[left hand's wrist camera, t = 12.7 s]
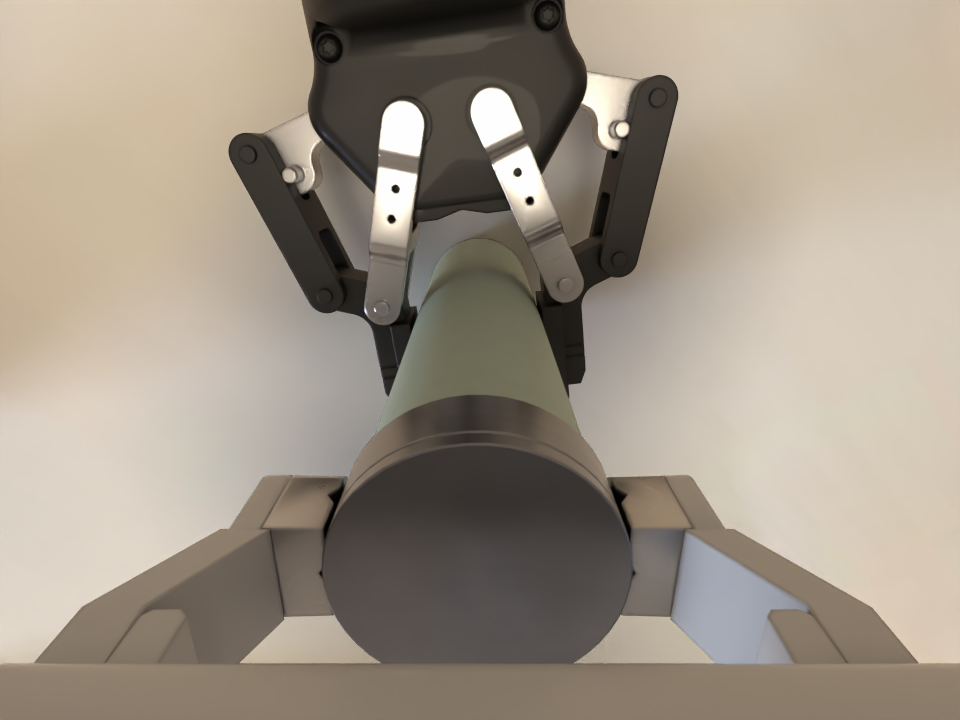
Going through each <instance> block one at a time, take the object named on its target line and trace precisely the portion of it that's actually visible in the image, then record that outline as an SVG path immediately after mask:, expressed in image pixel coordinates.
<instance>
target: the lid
mask: <svg viewBox="0 0 960 720" xmlns="http://www.w3.org/2000/svg"><path fill="white" fill-rule="evenodd" d="M632 573H633V558H632V549H631V545H630V540H629V536H628V533H627V531H626V528H625V525H624V523H623V520H622V517H621V515H620V512H619V509H618V507H617V504H616V501H615V499H614V496H613V493H612V491H611V488H610V485H609V483H608V480H607V478H606V475H605V472H604V470H603V467H602V465H601V463H600V461H599V459H598V458H597V456H596V454H595V453H594V451H593V449H592V448H591V447H590V446H589V444H588V443H587V442H586V441H585V440H584V438H583V437H582V436H581V435H580V434H579V433H577V432H576V431H575V430H574V429H573V428H572V427H571V426H570V425H568V424H567V423H566V422H564V421H563V420H561V419H560V418H558V417H557V416H555V415H553V414H551V413H550V412H548V411H546V410H544V409H542V408H540V407H537V406H534V405H532V404H529V403H526V402H524V401H520V400H516V399H512V398H508V397H502V396H493V395H462V396H454V397H447V398H443V399H439V400H435V401H431V402H429V403H426V404H423V405H421V406H418V407H416V408H413V409H411V410H409V411H407V412H406V413H404V414H402V415H400V416H398V417H397V418H395V419H394V420H392V421H391V422H390V423H388V424H387V425H386V426H384V427H383V428H382V429H381V430H380V431H379V432H378V433H377V434H376V435H375V436H374V437H372V438H371V440H370V441H369V442H368V444H367V445H366V446H365V447H364V449H363V450H362V451H361V453H360V455H359V456H358V458H357V460H356V462H355V463H354V465H353V468H352V471H351V473H350V476H349V478H348V481H347V483H346V486H345V488H344V491H343V494H342V496H341V499H340V501H339V504H338V506H337V509H336V512H335V514H334V517H333V519H332V522H331V524H330V527H329V530H328V532H327V535H326V538H325V543H324V548H323V553H322V576H323V583H324V588H325V592H326V595H327V598H328V602H329V604H330V606H331V608H332V610H333V612H334V614H335V617H336V618H337V620H338V621H339V623H340V624H341V626H342V627H343V629H344V630H345V631H346V633H347V634H348V635H349V636H350V637H351V638H352V639H353V640H354V642H355V643H356V644H357V645H359V646H360V647H361V648H362V649H363V650H364V651H365V652H367V653H368V654H369V655H370V656H372V657H373V658H375V659H376V660H378V661H379V662H381V663H382V664H573V663H574V662H576V661H577V660H579V659H580V658H582V657H583V656H585V655H586V654H587V653H588V652H590V651H591V650H592V649H593V648H594V647H595V646H596V645H597V644H599V643H600V642H601V640H602V639H603V638H604V637H605V636H606V635H607V634H608V632H609V631H610V630H611V629H612V627H613V626H614V624H615V623H616V621H617V619H618V618H619V616H620V614H621V612H622V610H623V608H624V606H625V604H626V601H627V598H628V594H629V591H630V587H631V582H632Z"/></svg>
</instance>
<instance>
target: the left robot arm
mask: <svg viewBox="0 0 960 720" xmlns="http://www.w3.org/2000/svg"><path fill="white" fill-rule="evenodd" d="M607 480H608V483H609V485H610V488H611V491H612V493H613V496H614V499H615V501H616V504H617V507H618V509H619V512H620V515H621V517H622V520H623V523H624V525H625V528H626V531H627V533H628V536H629V540H630V545H631V549H632V558H633V573H632V582H631V587H630V591H629V594H628V598H627V601H626V604H625V606H624V608H623V610H622V612H621V615H628V616H664V617H671V620H672V621H673V622H674V623H675V624H676V625H677V626H678V627H679V628H680V629H681V630H682V631H683V632H684V633H685V634H686V635H687V636H688V637H689V638H691V639H692V640H693V641H694V642H695V643H696V644H697V645H698V646H699V647H700V648H701V649H702V650H703V651H704V652H705V653H706V654H707V655H708V656H709V657H710V658H711V659H712V660H713V661H714V662H715V663H716V664H238V663H239V662H241V661H242V660H243V659H244V658H245V657H246V656H247V655H248V654H249V653H250V652H251V651H252V650H253V649H254V648H255V647H256V646H257V645H258V644H259V643H260V642H261V641H262V640H263V639H264V638H265V637H267V636H268V635H269V634H270V633H271V632H272V631H273V630H274V629H275V628H276V627H277V626H278V625H279V624H280V623H281V622H282V621H283V620H284V617H291V616H326V615H334V612H333V610H332V608H331V606H330V604H329V602H328V598H327V595H326V592H325V588H324V583H323V576H322V553H323V548H324V543H325V538H326V535H327V532H328V530H329V527H330V524H331V522H332V519H333V517H334V514H335V512H336V509H337V506H338V504H339V501H340V499H341V496H342V494H343V491H344V488H345V486H346V483H347V481H348V478H347V477H344V476H292V475H268V476H266V477H263V478H262V479H261V481H260V482H259V484H258V485H257V487H256V489H255V490H254V492H253V493H252V495H251V496H250V498H249V499H248V501H247V502H246V504H245V505H244V507H243V508H242V510H241V511H240V513H239V514H238V516H237V517H236V519H235V521H234V522H233V524H232V525H231V527H230V528H229V529H220V530H218V531H216V532H215V533H213V534H211V535H209V536H208V537H206V538H204V539H202V540H200V541H199V542H197V543H195V544H193V545H191V546H190V547H188V548H186V549H184V550H183V551H181V552H179V553H177V554H175V555H174V556H172V557H170V558H168V559H167V560H165V561H163V562H161V563H159V564H158V565H156V566H154V567H152V568H151V569H149V570H147V571H145V572H143V573H142V574H140V575H138V576H136V577H134V578H133V579H131V580H129V581H127V582H126V583H124V584H122V585H120V586H118V587H117V588H115V589H113V590H111V591H110V592H108V593H106V594H104V595H102V596H101V597H99V598H97V599H95V600H94V601H92V602H90V603H88V604H86V605H85V606H83V607H82V608H81V609H80V610H79V611H78V612H77V613H76V615H75V616H74V617H73V618H72V619H71V620H70V622H69V623H68V624H67V625H66V626H65V627H64V629H63V630H62V631H61V632H60V633H59V634H58V635H57V637H56V638H55V639H54V640H53V641H52V642H51V644H50V645H49V646H48V647H47V648H46V649H45V651H44V652H43V653H42V654H41V655H40V656H39V658H38V659H37V660H36V661H35V662H34V663H0V720H960V663H918V662H917V660H916V659H915V658H914V657H913V656H912V655H911V653H910V652H909V651H908V650H907V649H906V647H905V646H904V645H903V644H902V643H901V641H900V640H899V639H898V638H897V637H896V636H895V634H894V633H893V632H892V631H891V630H890V628H889V627H888V626H887V625H886V624H885V622H884V621H883V620H882V619H881V618H880V616H879V615H878V614H877V613H876V612H875V611H874V609H873V608H872V607H870V606H868V605H866V604H865V603H863V602H861V601H859V600H858V599H856V598H854V597H852V596H851V595H849V594H847V593H845V592H844V591H842V590H840V589H838V588H837V587H835V586H833V585H831V584H829V583H828V582H826V581H824V580H822V579H821V578H819V577H817V576H815V575H814V574H812V573H810V572H808V571H807V570H805V569H803V568H801V567H800V566H798V565H796V564H794V563H793V562H791V561H789V560H787V559H786V558H784V557H782V556H780V555H778V554H777V553H775V552H773V551H771V550H770V549H768V548H766V547H764V546H763V545H761V544H759V543H757V542H756V541H754V540H752V539H750V538H749V537H747V536H745V535H743V534H742V533H740V532H738V531H736V530H734V529H725V527H724V526H723V524H722V523H721V521H720V520H719V518H718V517H717V515H716V514H715V512H714V510H713V509H712V507H711V506H710V504H709V503H708V501H707V500H706V498H705V497H704V495H703V494H702V492H701V490H700V489H699V487H698V486H697V484H696V483H695V481H694V480H693V478H692V477H690V476H689V475H673V476H648V477H608V478H607Z"/></svg>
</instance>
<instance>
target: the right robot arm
mask: <svg viewBox="0 0 960 720" xmlns="http://www.w3.org/2000/svg"><path fill="white" fill-rule="evenodd" d="M302 4H303V9H304V14H305V19H306V23H307V28H308V33H309V37H310V42H311V46H312V51H313V56H314V79H313V84H312V88H311V92H310V95H309V100H308V112H306V113H304V114H302V115H300V116H298V117H296V118H294V119H292V120H290V121H288V122H286V123H284V124H282V125H280V126H278V127H276V128H274V129H272V130H270V131H267V132H265V133H263V134H261V133H242V134H239V135H237V136H235V137H234V138H233V139H232V141H231V143H230V145H229V157H230V160H231V162H232V164H233V166H234V168H235V169H236V171H237V173H238V175H239V177H240V178H241V180H242V182H243V184H244V186H245V187H246V189H247V191H248V193H249V195H250V196H251V198H252V200H253V202H254V204H255V205H256V207H257V209H258V211H259V213H260V214H261V216H262V218H263V220H264V222H265V223H266V225H267V227H268V229H269V231H270V232H271V234H272V236H273V238H274V240H275V242H276V243H277V245H278V247H279V249H280V251H281V252H282V254H283V256H284V258H285V260H286V261H287V263H288V265H289V267H290V269H291V270H292V272H293V274H294V276H295V278H296V279H297V281H298V283H299V285H300V287H301V288H302V290H303V292H304V294H305V296H306V297H307V299H308V301H309V303H310V304H311V306H312V307H313V308H314V309H316V310H317V311H319V312H322V313H332V312H335V311H341V312H346V313H350V314H355V315H358V316H360V317H362V318H363V319H365V320H366V321H367V322H368V323H369V325H370V326H371V328H372V331H373V335H374V340H375V344H376V349H377V354H378V359H379V364H380V367H381V373H382V377H383V383H384V387H385V392H386V394H387V396H388V397H389V395H390V392H391V389H392V386H393V383H394V381H395V378H396V375H397V372H398V369H399V367H400V364H401V361H402V358H403V355H404V353H405V350H406V347H407V344H408V342H409V339H410V336H411V333H412V330H413V328H414V325H415V322H416V319H417V316H418V313H417V307H416V306H413V307H410V305H409V299H408V294H409V288H410V281H411V274H412V267H413V261H414V254H415V248H416V244H417V240H418V234H419V228H420V222H425V221H432V220H438V219H441V218H443V217H446V216H448V215H450V214H453V213H455V212H457V211H460V210H468V211H475V212H482V213H492V212H500V211H507V210H511V209H512V212H513V214H514V216H515V218H516V221H517V223H518V225H519V227H520V230H521V232H522V234H523V236H524V239H525V241H526V243H527V245H528V248H529V250H530V252H531V254H532V257H533V259H534V261H535V263H536V266H537V268H538V270H539V272H540V283H541V291H536V301H537V309H538V311H539V314H540V317H541V320H542V323H543V326H544V329H545V332H546V335H547V338H548V341H549V343H550V346H551V349H552V352H553V355H554V358H555V361H556V364H557V367H558V370H559V372H560V375H561V378H562V381H563V384H564V387H565V390H566V393H567V396H568V399H569V388H568V385H569V384H577V383H581V381H582V378H583V375H584V373H585V370H586V369H585V356H584V339H583V324H582V309H581V304H582V299H583V297H584V295H585V293H586V292H587V291H588V290H589V288H591V287H592V286H594V285H595V284H597V283H599V282H601V281H603V280H605V279H607V278H609V277H623V276H626V275H628V274H629V273H631V272H632V271H633V269H634V268H635V266H636V264H637V261H638V257H639V253H640V249H641V245H642V241H643V237H644V233H645V229H646V225H647V221H648V217H649V213H650V209H651V205H652V201H653V197H654V193H655V189H656V185H657V181H658V177H659V173H660V169H661V165H662V161H663V157H664V153H665V149H666V145H667V141H668V137H669V133H670V129H671V125H672V121H673V117H674V113H675V109H676V105H677V101H678V90H677V86H676V84H675V83H674V82H673V80H672V79H670V78H669V77H667V76H664V75H656V76H653V77H647V78H644V79H642V80H637V79H631V78H624V77H618V76H612V75H606V74H600V73H594V72H588V71H587V70H586V66H585V63H584V60H583V58H582V56H581V55H580V53H579V52H578V50H577V48H576V47H575V45H574V43H573V41H572V38H571V36H570V33H569V30H568V26H567V21H566V13H565V0H302ZM579 107H581V108H583V109H585V110H586V111H587V112H588V113H589V115H590V117H591V120H592V136H593V139H594V142H595V143H596V144H597V145H598V146H599V147H600V148H602V149H604V150H607V155H606V160H605V164H604V169H603V174H602V178H601V183H600V188H599V193H598V197H597V202H596V207H595V211H594V216H593V221H592V225H591V230H590V235H589V238H588V239H586V240H584V241H582V242H580V243H578V244H576V245H574V246H572V247H570V246H569V243H568V241H567V238H566V236H565V234H564V231H563V227H562V224H561V221H560V219H559V216H558V214H557V211H556V209H555V207H554V204H553V202H552V199H551V197H550V195H549V192H548V190H547V187H546V185H545V183H544V180H543V178H542V173H543V171H544V170H545V168H546V166H547V164H548V162H549V161H550V159H551V157H552V155H553V153H554V152H555V150H556V148H557V146H558V144H559V143H560V141H561V139H562V137H563V135H564V134H565V132H566V130H567V128H568V126H569V125H570V123H571V121H572V119H573V117H574V116H575V114H576V112H577V110H578V108H579ZM325 144H326V145H327V146H328V147H329V148H330V149H331V150H332V151H333V152H334V153H335V154H336V155H337V156H338V157H339V158H340V159H341V160H342V161H343V162H344V163H345V164H346V165H347V166H348V167H349V168H350V170H351V171H352V172H353V173H354V174H355V175H356V176H357V177H358V178H359V179H360V180H361V181H362V182H363V183H364V184H365V185H366V186H367V187H368V188H369V189H370V190H371V191H372V192H373V193H374V194H375V196H374V204H373V213H372V222H371V230H370V239H369V253H370V261H369V269H368V272H366V271H361V270H357V269H354V267H353V265H352V263H351V261H350V259H349V257H348V255H347V253H346V251H345V249H344V247H343V245H342V243H341V241H340V240H339V238H338V236H337V234H336V232H335V230H334V228H333V226H332V224H331V222H330V220H329V218H328V216H327V214H326V212H325V210H324V208H323V206H322V204H321V202H320V200H319V198H318V197H317V195H316V193H315V191H314V190H315V189H316V188H317V187H318V186H319V185H320V184H321V182H322V178H323V172H322V168H321V165H320V160H319V156H320V151H321V149H322V147H323V146H324V145H325Z"/></svg>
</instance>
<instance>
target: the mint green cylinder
mask: <svg viewBox="0 0 960 720" xmlns="http://www.w3.org/2000/svg"><path fill="white" fill-rule="evenodd" d="M462 395H493V396H502V397H508V398H512V399H516V400H520V401H524V402H526V403H529V404H532V405H534V406H537V407H540V408H542V409H544V410H546V411H548V412H550V413H551V414H553V415H555V416H557V417H558V418H560V419H561V420H563V421H564V422H566V423H567V424H568V425H570V426H571V427H572V428H573V429H574V430H575V431H576V432H577V433H579V434H580V431H579V428H578V425H577V422H576V419H575V416H574V413H573V410H572V407H571V404H570V402H569V399H568V396H567V393H566V390H565V387H564V384H563V381H562V378H561V375H560V372H559V370H558V367H557V364H556V361H555V358H554V355H553V352H552V349H551V346H550V343H549V341H548V338H547V335H546V332H545V329H544V326H543V323H542V320H541V317H540V314H539V311H538V309H537V306H536V303H535V300H534V297H533V294H532V291H531V288H530V285H529V282H528V280H527V277H526V274H525V271H524V268H523V266H522V264H521V262H520V260H519V259H518V258H517V256H516V255H515V254H514V253H513V252H512V251H511V250H510V249H508V248H507V247H506V246H504V245H502V244H501V243H498V242H496V241H493V240H489V239H469V240H466V241H462V242H460V243H458V244H456V245H454V246H452V247H451V248H450V249H448V250H447V251H446V252H445V253H444V254H443V255H442V257H441V258H440V259H439V261H438V263H437V264H436V266H435V269H434V272H433V274H432V277H431V280H430V283H429V286H428V288H427V291H426V294H425V297H424V300H423V302H422V305H421V308H420V311H419V314H418V316H417V319H416V322H415V325H414V328H413V330H412V333H411V336H410V339H409V342H408V344H407V347H406V350H405V353H404V355H403V358H402V361H401V364H400V367H399V369H398V372H397V375H396V378H395V381H394V383H393V386H392V389H391V392H390V395H389V397H388V400H387V403H386V406H385V409H384V411H383V414H382V417H381V420H380V423H379V425H378V428H377V431H376V434H377V433H378V432H379V431H380V430H381V429H382V428H383V427H384V426H386V425H387V424H388V423H390V422H391V421H392V420H394V419H395V418H397V417H398V416H400V415H402V414H404V413H406V412H407V411H409V410H411V409H413V408H416V407H418V406H421V405H423V404H426V403H429V402H431V401H435V400H439V399H443V398H447V397H454V396H462ZM376 434H375V435H376ZM580 435H581V434H580Z"/></svg>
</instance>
